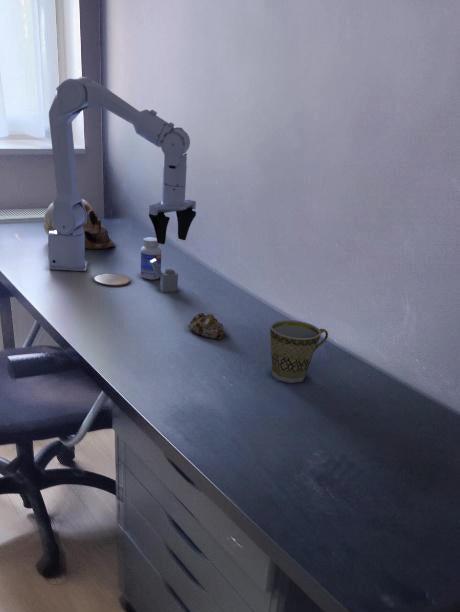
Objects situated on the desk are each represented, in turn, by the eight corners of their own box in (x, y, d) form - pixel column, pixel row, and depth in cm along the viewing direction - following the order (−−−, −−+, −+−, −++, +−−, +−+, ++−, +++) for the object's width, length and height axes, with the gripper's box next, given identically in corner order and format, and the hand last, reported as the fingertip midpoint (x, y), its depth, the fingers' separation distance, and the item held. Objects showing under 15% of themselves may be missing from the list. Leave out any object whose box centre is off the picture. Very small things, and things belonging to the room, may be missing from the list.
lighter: (175, 289, 183) (176, 257, 179) (177, 291, 182) (179, 259, 178) (148, 290, 181) (149, 258, 176) (151, 292, 179) (152, 260, 175)
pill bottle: (159, 280, 188) (160, 242, 182) (139, 278, 188) (139, 240, 182) (161, 274, 192) (162, 237, 187) (141, 272, 192) (142, 235, 187)
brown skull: (119, 245, 211) (114, 197, 202) (70, 259, 201) (62, 210, 193) (88, 234, 219) (82, 188, 211) (40, 247, 210) (31, 199, 202)
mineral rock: (179, 315, 161) (209, 303, 163) (182, 332, 164) (212, 320, 166) (202, 334, 154) (233, 320, 156) (205, 351, 157) (236, 338, 159)
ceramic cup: (280, 389, 139) (287, 340, 134) (255, 369, 146) (261, 322, 141) (334, 381, 145) (343, 334, 139) (308, 362, 152) (315, 316, 146)
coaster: (93, 285, 180) (93, 283, 180) (95, 274, 187) (95, 272, 187) (129, 287, 181) (129, 285, 181) (129, 276, 189) (129, 274, 188)
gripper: (164, 190, 168) (162, 249, 176) (205, 185, 178) (202, 241, 185) (143, 184, 172) (142, 242, 179) (185, 179, 181) (182, 234, 189)
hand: (171, 241), depth 183 cm, fingers open, 7 cm apart
